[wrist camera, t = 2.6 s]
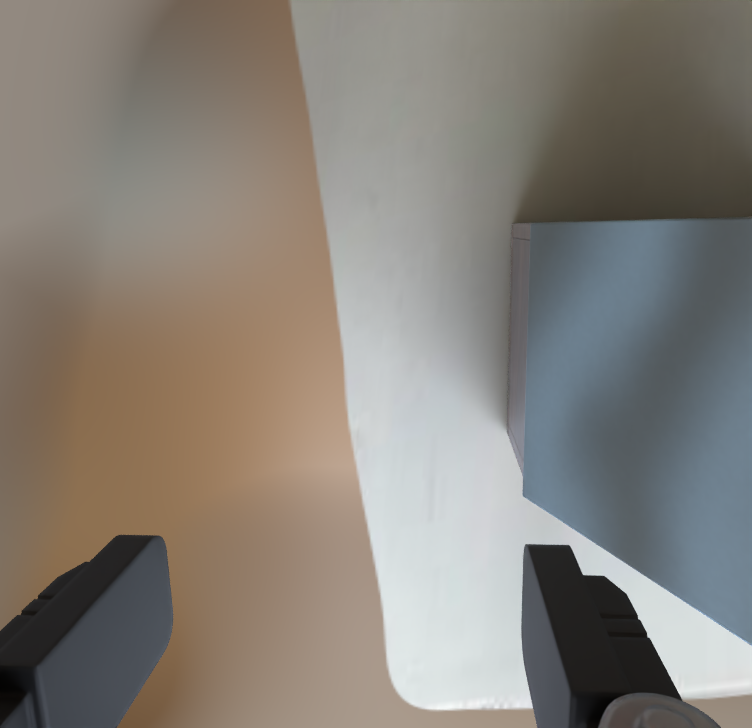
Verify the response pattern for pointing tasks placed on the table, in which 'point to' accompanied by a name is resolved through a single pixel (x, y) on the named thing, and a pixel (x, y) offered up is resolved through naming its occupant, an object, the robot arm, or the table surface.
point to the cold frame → (518, 337)
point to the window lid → (647, 399)
